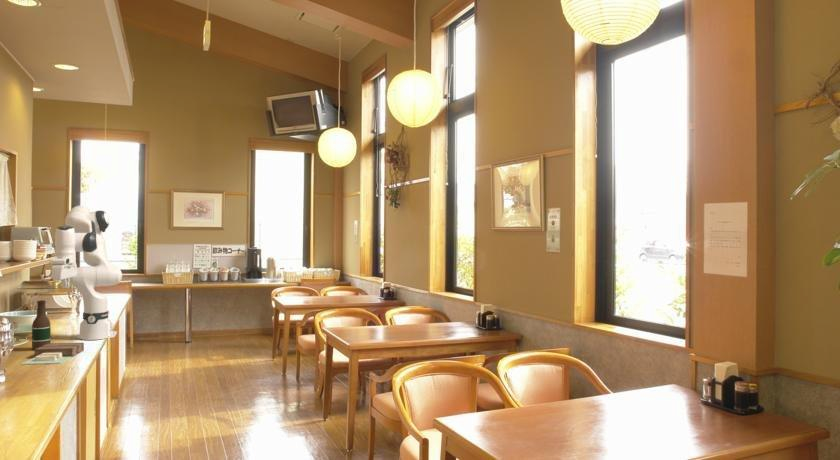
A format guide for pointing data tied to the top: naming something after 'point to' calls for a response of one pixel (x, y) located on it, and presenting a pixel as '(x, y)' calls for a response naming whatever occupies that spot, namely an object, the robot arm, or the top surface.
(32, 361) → the rubber mat
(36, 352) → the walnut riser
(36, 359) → the birch tile
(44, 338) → the beer bottle
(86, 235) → the robot arm
